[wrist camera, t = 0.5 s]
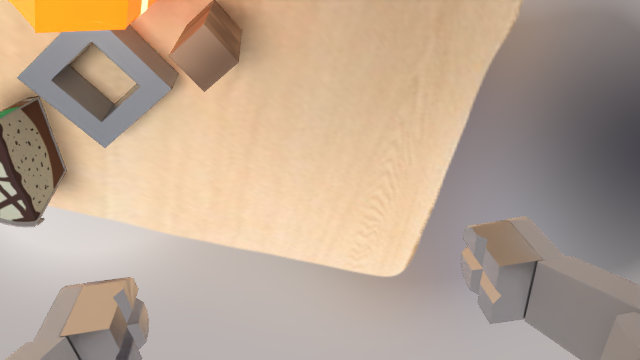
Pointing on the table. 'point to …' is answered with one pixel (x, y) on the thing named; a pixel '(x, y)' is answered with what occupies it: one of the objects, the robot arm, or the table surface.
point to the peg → (208, 46)
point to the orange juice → (80, 14)
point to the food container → (27, 163)
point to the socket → (84, 99)
